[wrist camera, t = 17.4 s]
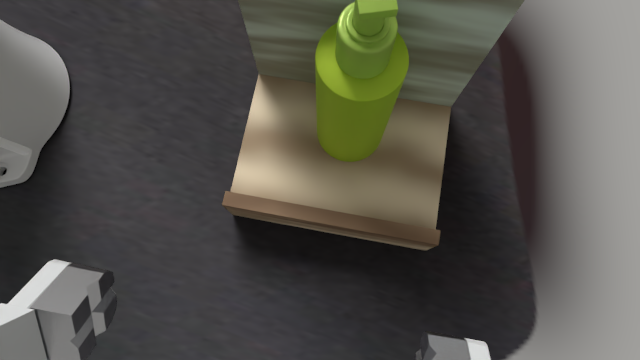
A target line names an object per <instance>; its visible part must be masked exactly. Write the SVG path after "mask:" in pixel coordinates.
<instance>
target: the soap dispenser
mask: <svg viewBox="0 0 640 360" xmlns="http://www.w3.org/2000/svg"><path fill="white" fill-rule="evenodd" d="M397 12H398V5H397V0H355V2H353V3H351V4H349V5H348V6H347V7H346V8H345V9H344V10H343V11H342V12H341V14H340V16H339V18H338V22H337V23H336V24H334V25H333V26H331V27H330V28H329V29H328V30H327V31H326V32H325V33H324V34H323V36H322V37H321V39H320V41H319V43H318V45H317V48H316V53H315V73H316V113H317V136H318V140H319V143H320V145H321V146H322V148H323V149H324V150H325V151H326V152H327V153H328V154H329V155H330V156H332V157H333V158H335V159H338V160H341V161H345V162H355V161H359V160H362V159H365V158H367V157H368V156H370V155H371V154H372V153H373V152H374V151H375V150H376V149H377V147H378V146H379V144H380V141H381V139H382V136H383V133H384V131H385V128H386V126H387V123H388V120H389V118H390V115H391V113H392V110H393V107H394V105H395V102H396V100H397V97H398V94H399V92H400V89H401V87H402V84H403V81H404V79H405V76H406V74H407V70H408V66H409V54H408V50H407V46H406V44H405V42H404V40H403V38H402V37H401V36H400V34H399V33H398V32H397V31H398V24H397V19H396V17H395V16H397Z"/></svg>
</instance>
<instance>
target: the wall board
mask: <svg viewBox="0 0 640 360" xmlns="http://www.w3.org/2000/svg"><path fill="white" fill-rule="evenodd" d="M238 1H239V5H240V8H241V12H242V16H243V19H244V23H245V26H246V30H247V33H248V37H249V41H250V44H251V48H252V51H253V55H254V58H255V62H256V66H257V69H258V73H259V76H258V80H257V84H256V88H255V92H254V96H253V100H252V105H251V109H250V113H249V117H248V121H247V125H246V130H245V134H244V138H243V142H242V146H241V150H240V154H239V159H238V163H237V167H236V171H235V175H234V179H233V184H232V188H231V192H228V191H225V195H224V199H223V203H222V205H223V206H224V207H225V208H226V209H227V210H228V211H229V212H230V213H231V214H232V215H236V216H242V217H247V218H252V219H258V220H263V221H269V222H274V223H279V224H285V225H290V226H295V227H301V228H306V229H312V230H317V231H322V232H328V233H333V234H338V235H344V236H349V237H355V238H360V239H365V240H371V241H376V242H382V243H387V244H392V245H398V246H403V247H408V248H414V249H419V250H425V251H426V250H428V249H431V248H433V247H435V246H438V245H439V239H440V231H441V230H436V223H437V215H438V207H439V199H440V191H441V183H442V175H443V167H444V159H445V151H446V143H447V135H448V127H449V119H450V111H451V106H452V105H453V103H454V102H455V100H456V99H457V97H458V96H459V95H460V93H461V92H462V90H463V89H464V87H465V86H466V84H467V83H468V81H469V80H470V79H471V77H472V76H473V74H474V73H475V71H476V70H477V68H478V67H479V65H480V64H481V63H482V61H483V60H484V58H485V57H486V55H487V54H488V52H489V51H490V50H491V48H492V47H493V45H494V44H495V42H496V41H497V39H498V38H499V36H500V35H501V34H502V32H503V31H504V29H505V28H506V26H507V25H508V23H509V22H510V20H511V19H512V18H513V16H514V15H515V13H516V12H517V10H518V9H519V7H520V6H521V4H522V3H523V2H524V0H397V5H398V12H397V16H395V17H396V19H397V24H398V31H397V32H398V33H399V34H400V36H401V37H402V38H403V40H404V42H405V44H406V46H407V50H408V54H409V66H408V70H407V74H406V76H405V79H404V81H403V84H402V87H401V89H400V92H399V94H398V97H397V100H396V102H395V105H394V107H393V110H392V113H391V115H390V118H389V120H388V123H387V126H386V128H385V131H384V133H383V136H382V139H381V141H380V144H379V146H378V147H377V149H376V150H375V151H374V152H373V153H372V154H371V155H370V156H368V157H367V158H365V159H362V160H359V161H355V162H345V161H341V160H338V159H335V158H333V157H332V156H330V155H329V154H328V153H327V152H326V151H325V150H324V149H323V148H322V146H321V145H320V143H319V140H318V136H317V113H316V73H315V53H316V48H317V45H318V43H319V41H320V39H321V37H322V36H323V34H324V33H325V32H326V31H327V30H328V29H329V28H330V27H331V26H333V25H334V24H336V23H337V22H338V18H339V16H340V14H341V12H342V11H343V10H344V9H345V8H346V7H347V6H348V5H349V4H351V3H353V2H355V0H238Z"/></svg>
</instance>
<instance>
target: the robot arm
mask: <svg viewBox="0 0 640 360" xmlns="http://www.w3.org/2000/svg"><path fill="white" fill-rule="evenodd" d="M69 94H70V83H69V76H68V72H67V69H66V67H65V65H64V63H63V61H62V59H61V57H60V56H59V55H58V53H57V52H56V51H55V50H54V49H53V48H52V47H50V46H49V45H48V44H47V43H45V42H43V41H42V40H40V39H38V38H35V37H33V36H30V35H28V34H25V33H23V32H21V31H19V30H17V29H15V28H13V27H12V26H10V25H8V24H6V23H5V22H3V21H2V20H0V188H1V187H5V186H10V185H14V184H19V183H22V182H24V181H26V180H27V179H28V178H29V177H30V176H31V175H32V173H33V171H34V168H35V166H36V163H37V160H38V157H39V153H40V151H41V149H42V147H43V146H44V144H45V143H46V142H47V141H48V139H49V138H50V137H51V136H52V134H53V133H54V132H55V130H56V129H57V127H58V126H59V124H60V122H61V120H62V119H63V116H64V114H65V111H66V109H67V105H68V101H69ZM6 169H7V172H6V174H5V175H3V171H4V170H6ZM113 283H114V276H113V272H111V271H108V270H103V269H99V268H94V267H90V266H85V265H81V264H76V263H70V262H65V261H61V260H56V259H54V260H51V261H49V262H47V263H46V264H45V265H44V266H43V268H42V269H41V270H40V271H39V272H38V273H37V274H36V275H35V276H34V277H33V278H32V279H31V280H30V281H29V282H28V283H27V284H26V285H25V286H24V287H23V288H22V289H21V290H20V291H19V292H18V293H17V294H16V295H15V297H14V298H13V299H12V300H11V301H10V302H9V303H8V304H3V303H1V304H0V360H86V359H87V358H88V356H89V355H90V353H91V352H92V350H93V349H94V347H95V346H96V338H95V336H96V335H98V334H100V333H102V332H104V331H105V330H106V329H107V328H108V326H109V325H110V323H111V321H112V319H113V316H114V314H115V311H116V305H117V297H116V294H115V292H114V291H113V290H112V289H111V288H110V287H111V286H112V285H113ZM420 345H421V349H420V350H419V351H417V352H416V353H415V356H414V359H413V360H491V358H490V354H489V350H488V346H487V344H486V343H485V342H483V341H478V340H473V339H467V338H463V337H457V336H451V335H446V334H440V333H435V332H429V331H425V332H424V333H423V335H422V337H421V340H420Z"/></svg>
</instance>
